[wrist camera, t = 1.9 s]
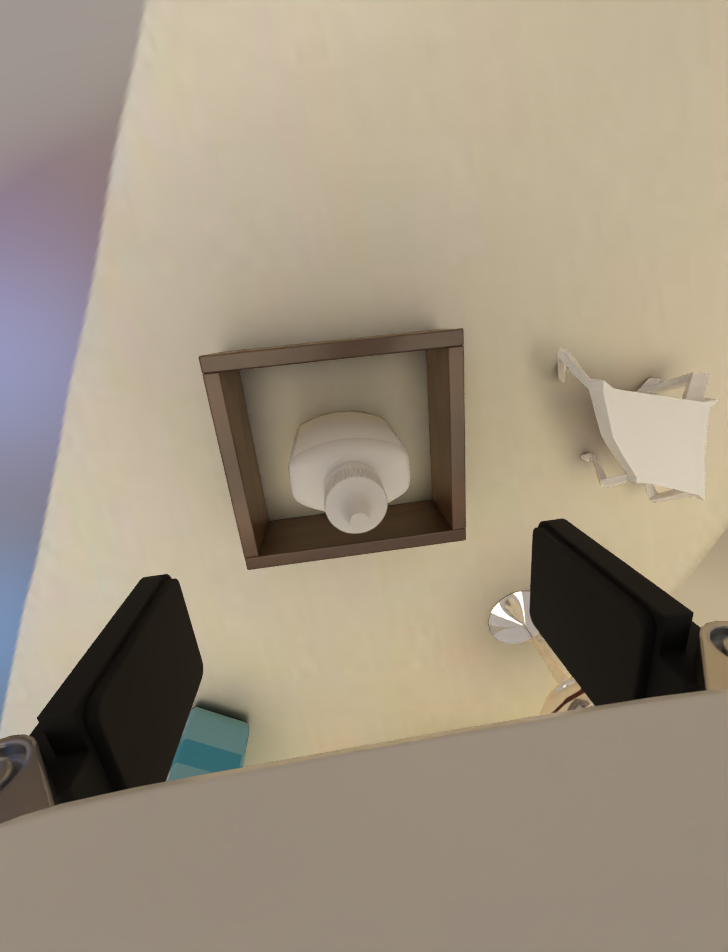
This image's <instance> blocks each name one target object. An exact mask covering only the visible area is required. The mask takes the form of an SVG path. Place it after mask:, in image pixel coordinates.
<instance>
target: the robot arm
mask: <svg viewBox="0 0 728 952" xmlns="http://www.w3.org/2000/svg"><path fill="white" fill-rule="evenodd" d="M529 612H530V618H531V621H532V623H533V625H534V626H535V628H536V629H537V630H538V632H539V633H540V634H541V636H542V637H543V638H544V640H545V641H546V642H547V643H548V645H549V646H550V647H551V649H552V650H553V651H554V653H555V654H556V655H557V657H558V658H559V659H560V661H561V662H562V663H563V665H564V666H565V667H566V669H567V670H568V671H569V673H570V674H571V675H572V677H573V678H574V679H575V681H576V682H577V683H578V685H579V686H580V687H581V689H582V690H583V691H584V693H585V694H586V695H587V697H588V698H589V699H590V701H591V702H592V703H593V704H594V706H593V707H587V708H581V709H575V710H569V711H563V712H557V713H552V714H546V715H540V716H534V717H528V718H522V719H516V720H510V721H504V722H498V723H492V724H486V725H480V726H474V727H468V728H463V729H457V730H451V731H445V732H439V733H434V734H428V735H422V736H416V737H410V738H405V739H399V740H393V741H388V742H382V743H376V744H370V745H365V746H359V747H353V748H348V749H342V750H336V751H330V752H325V753H319V754H314V755H308V756H303V757H297V758H292V759H286V760H280V761H275V762H269V763H264V764H258V765H253V766H247V767H242V768H236V769H231V770H225V771H219V772H214V773H208V774H203V775H197V776H192V777H187V778H182V779H176V780H171V781H166V780H167V777H168V774H169V771H170V768H171V765H172V762H173V760H174V757H175V754H176V751H177V748H178V745H179V742H180V739H181V737H182V734H183V731H184V728H185V725H186V722H187V719H188V717H189V714H190V711H191V708H192V705H193V702H194V699H195V696H196V694H197V691H198V688H199V685H200V682H201V679H202V676H203V663H202V659H201V655H200V652H199V648H198V645H197V642H196V638H195V635H194V631H193V628H192V624H191V621H190V618H189V614H188V611H187V607H186V604H185V601H184V597H183V594H182V590H181V587H180V584H179V581H178V580H177V579H172V578H171V577H170V576H169V575H168V574H164V575H157V576H150V577H144V578H142V579H141V580H140V581H139V582H138V584H137V585H136V586H135V588H134V589H133V590H132V592H131V593H130V594H129V596H128V597H127V598H126V600H125V601H124V602H123V604H122V605H121V606H120V608H119V609H118V610H117V612H116V613H115V614H114V616H113V617H112V618H111V620H110V621H109V622H108V624H107V625H106V626H105V628H104V629H103V630H102V632H101V633H100V634H99V636H98V637H97V638H96V640H95V641H94V642H93V644H92V645H91V646H90V648H89V649H88V650H87V652H86V653H85V654H84V656H83V657H82V658H81V660H80V661H79V662H78V664H77V665H76V666H75V668H74V669H73V670H72V672H71V673H70V674H69V676H68V677H67V678H66V680H65V681H64V682H63V684H62V685H61V686H60V688H59V689H58V690H57V692H56V693H55V694H54V696H53V697H52V698H51V700H50V701H49V702H48V704H47V705H46V706H45V708H44V709H43V710H42V712H41V713H40V714H39V716H38V717H37V719H38V721H39V723H38V725H37V726H36V727H35V729H34V730H33V731H32V733H31V734H30V736H28V735H13V736H9V737H6V738H3V739H0V952H728V621H714V622H710V623H706V624H705V625H704V626H702V627H701V628H700V627H699V626H698V625H696V624H695V623H694V622H692V617H693V612H692V611H691V610H689V609H688V608H686V607H685V606H684V605H682V604H681V603H680V602H678V601H677V600H675V599H674V598H673V597H671V596H670V595H669V594H667V593H666V592H665V591H663V590H662V589H660V588H659V587H658V586H656V585H655V584H654V583H652V582H651V581H649V580H648V579H647V578H645V577H644V576H643V575H641V574H640V573H638V572H637V571H636V570H634V569H633V568H631V567H630V566H629V565H627V564H626V563H625V562H623V561H622V560H620V559H619V558H618V557H616V556H615V555H614V554H612V553H611V552H609V551H608V550H607V549H605V548H604V547H603V546H601V545H600V544H598V543H597V542H596V541H594V540H593V539H592V538H590V537H589V536H587V535H586V534H585V533H583V532H582V531H580V530H579V529H578V528H576V527H575V526H574V525H572V524H571V523H569V522H568V521H567V520H565V519H556V520H549V521H542V522H540V524H539V526H538V528H535V529H534V530H533V540H532V563H531V585H530V608H529Z"/></svg>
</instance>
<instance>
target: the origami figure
mask: <svg viewBox="0 0 728 952" xmlns="http://www.w3.org/2000/svg"><path fill="white" fill-rule="evenodd" d="M557 366H558V375H559V381H562V382H565V380H566V371H567V368H568V369H569V370H570V371H571V372H572V373H573V374H574V375H575V376H576V377H577V378H578V379H579V380H580V381H581V382H582V383H583V384H584V385H585V386H586V387H587V388H588V389H589V392H590V396H591V400H592V403H593V407H594V411H595V415H596V419H597V423H598V426H599V430H600V434H601V436H602V438H603V440H604V441H605V443H606V444H607V446H608V448H609V449H610V451H611V452H612V454H613V456H614V457H615V458H616V460H617V461H618V463H619V464H620V466H621V467H622V469H623V470H624V471H625V473H626V474H625V475H621V476H616V477H612V478H607V477H606V475H605V473H604V471H603V469H602V467H601V465H600V463H599V461H598V459H597V457H596V455H595V454H591V453H589V454H584V455H581V459H582V460H584V461H590V460H593V464H594V467H595V470H596V474H597V477H598V480H599V483H600V485H601V486H604V487H607V488H609V487H612V486H615V485H619V484H622V483H625V482H628V481H630V482H633V483H636V484H638V483H644V485H645V488H646V491H647V494H648V496H649V499H650V501H652V502H662V501H669V500H676V499H682V498H688V497H696V498H699V499H702V500H704V497H705V478H706V469H705V449H706V438H707V428H708V418H709V409H710V408H711V407H712V406H713V405H714V404H715V403H716V402H717V401H719V400H720V399H711V398H704V394H705V390H706V385H707V380H708V373H698V372H692V373H689V374H686V375H683V376H680V377H677V378H674V379H671V380H668V381H665V382H662V383H659V381H660V379H658V378H649V379H648V380H647V381H646V382H645V383H644V384H643V385H642V386H641V387H640V388H639V389H638V391H637V392H632V391H626V390H619V389H613V388H612V387H611V386H610V385H609V384H608V383H607V382H606V381H605V380H601V379H592V378H590V377H589V376H588V375H587V374H586V372H585V371H584V370H583V369H582V367H581V366H580V365H579V363H578V362H577V361H576V360H575V358H574V357H573V356H572V355H571V353H570V352H569V351H567V350H566V349H564V348H562V347H561V348H560V350H559V352H558V354H557ZM658 383H659V384H658ZM684 386H686V388H685V391H684V394H683V397H682V399H679V398H672V397H666V396H659V395H652V394H655V393H659V392H663V391H668V390H672V389H676V388H680V387H684ZM654 485H657V486H662V487H666V488H670V489H673V490H670V491H666V492H663V493H659V494H658V493H657V491H656V489H655V487H654Z"/></svg>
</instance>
